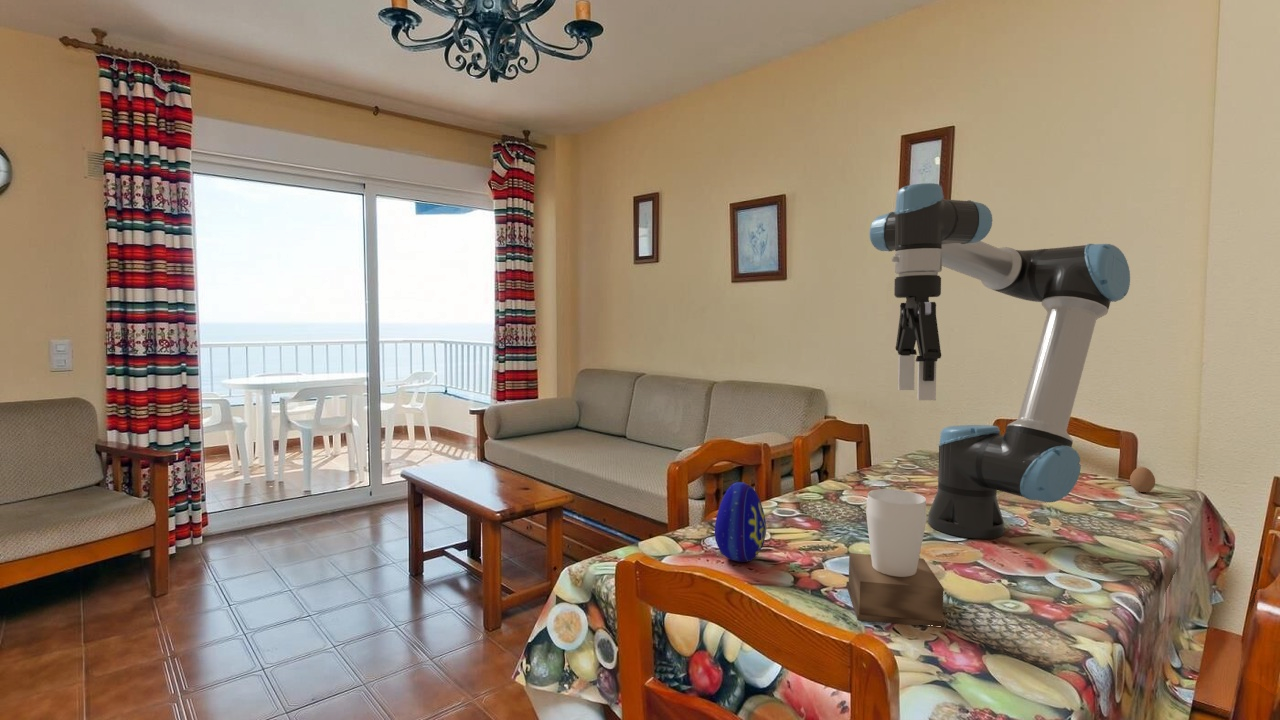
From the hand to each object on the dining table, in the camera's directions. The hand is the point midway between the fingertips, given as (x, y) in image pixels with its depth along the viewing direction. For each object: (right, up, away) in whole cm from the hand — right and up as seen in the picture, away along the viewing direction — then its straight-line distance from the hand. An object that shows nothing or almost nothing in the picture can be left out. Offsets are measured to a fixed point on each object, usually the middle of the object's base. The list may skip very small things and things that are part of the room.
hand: (915, 394), depth 113 cm
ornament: (-30, -32, +9) cm, 45 cm away
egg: (+87, -30, +59) cm, 110 cm away
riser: (-8, -34, -10) cm, 36 cm away
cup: (-8, -28, -11) cm, 31 cm away
